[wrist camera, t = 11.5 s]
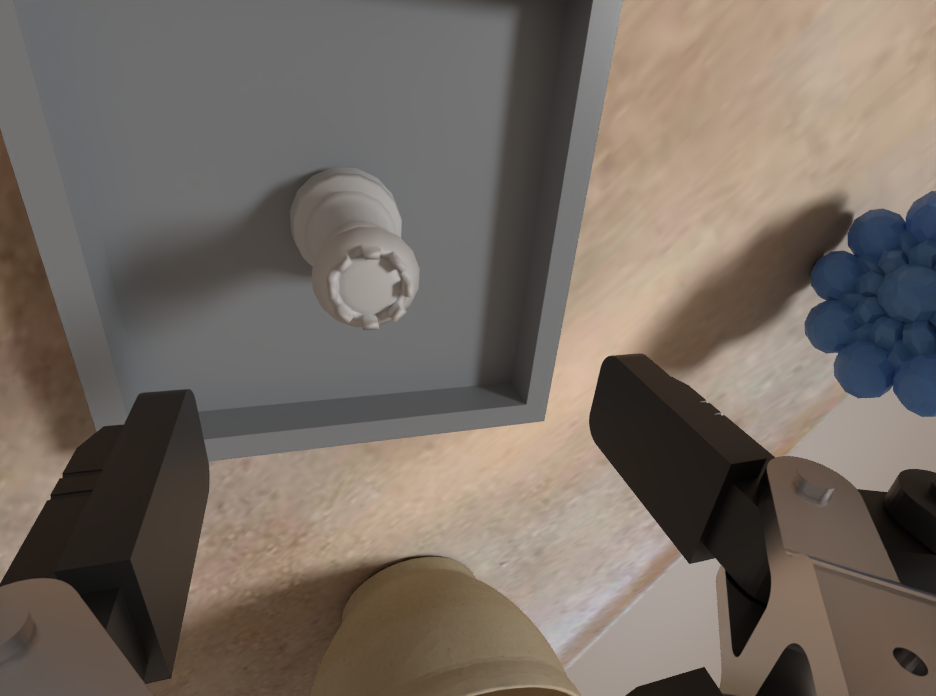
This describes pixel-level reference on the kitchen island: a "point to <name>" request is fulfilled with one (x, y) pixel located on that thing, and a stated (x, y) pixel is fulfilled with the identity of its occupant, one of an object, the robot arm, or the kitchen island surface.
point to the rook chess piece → (354, 247)
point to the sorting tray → (275, 186)
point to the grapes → (882, 307)
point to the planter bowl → (437, 639)
